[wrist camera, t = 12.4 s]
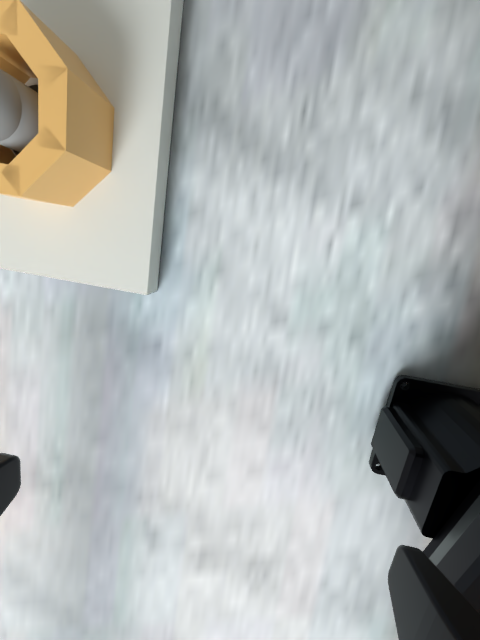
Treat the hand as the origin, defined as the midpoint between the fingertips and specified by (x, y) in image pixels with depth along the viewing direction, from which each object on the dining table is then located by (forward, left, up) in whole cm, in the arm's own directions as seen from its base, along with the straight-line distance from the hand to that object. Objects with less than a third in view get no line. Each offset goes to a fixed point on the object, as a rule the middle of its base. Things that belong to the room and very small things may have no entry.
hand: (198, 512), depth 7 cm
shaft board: (+12, -10, -12) cm, 20 cm away
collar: (+12, -10, -10) cm, 19 cm away
